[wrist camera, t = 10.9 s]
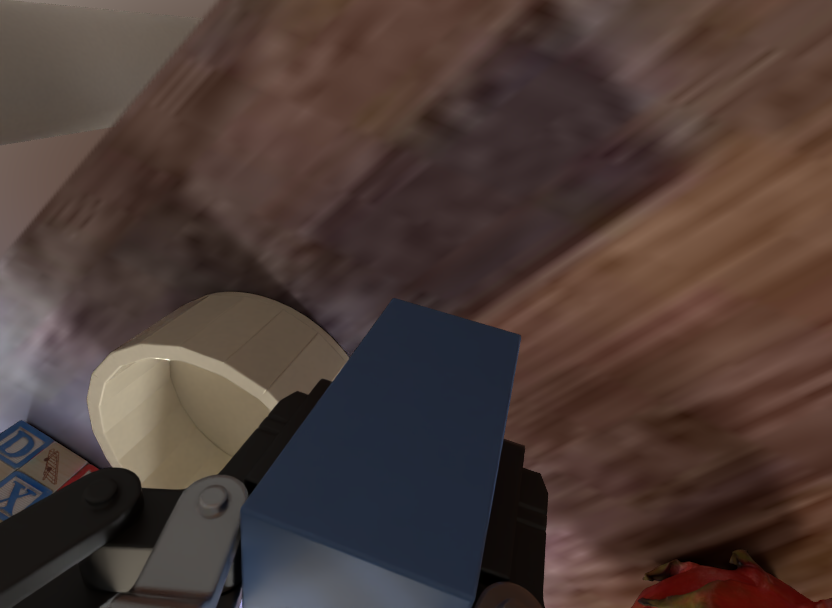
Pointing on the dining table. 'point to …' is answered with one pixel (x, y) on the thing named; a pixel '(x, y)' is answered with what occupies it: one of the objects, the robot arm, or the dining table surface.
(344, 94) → the dining table surface
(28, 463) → the stack of blocks
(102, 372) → the mug
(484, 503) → the block
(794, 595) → the dragon fruit
